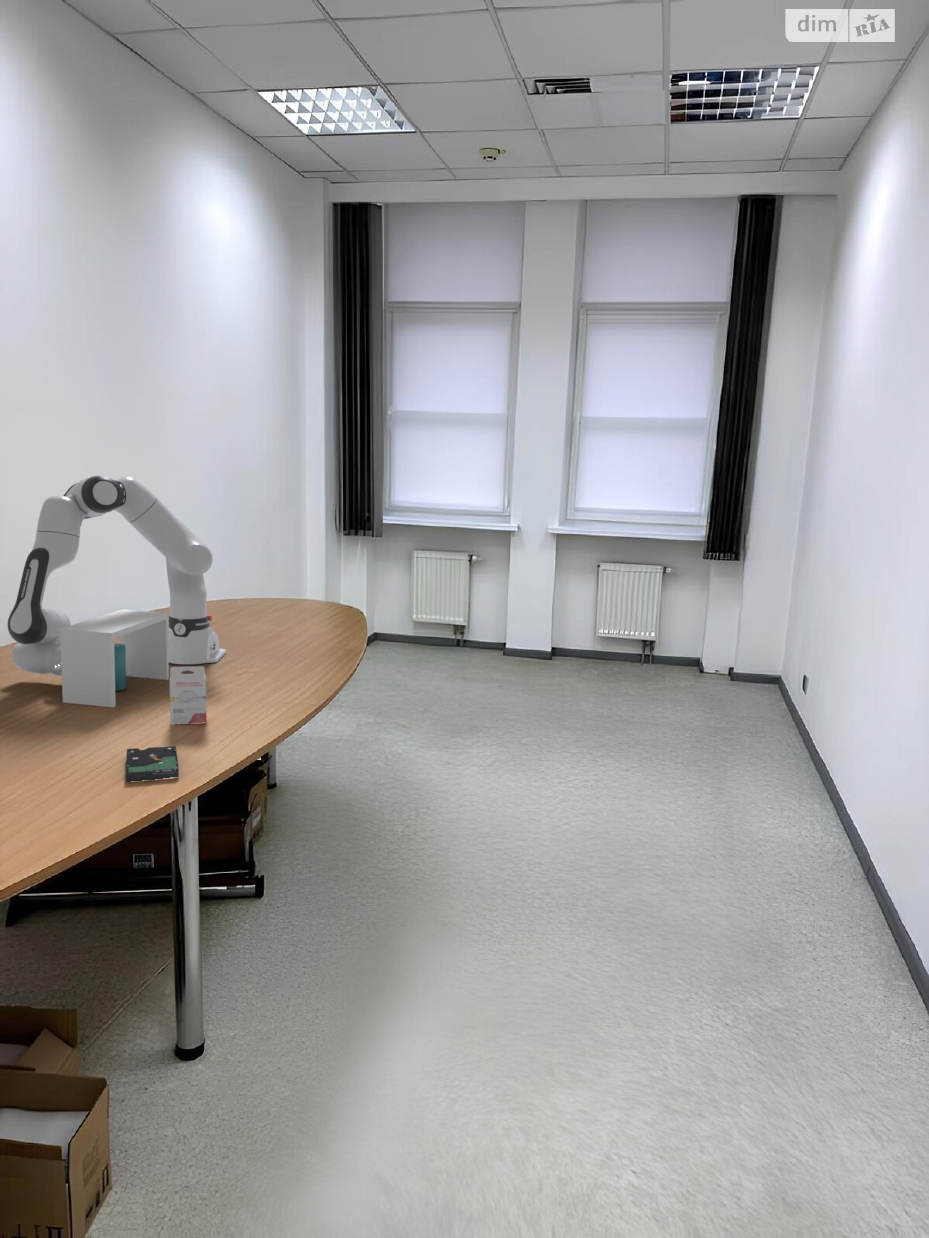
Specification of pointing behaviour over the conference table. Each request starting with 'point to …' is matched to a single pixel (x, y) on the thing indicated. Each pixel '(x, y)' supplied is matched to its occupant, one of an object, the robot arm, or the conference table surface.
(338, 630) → the conference table surface
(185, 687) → the ink cartridge box
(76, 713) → the conference table surface
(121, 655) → the teal cylinder
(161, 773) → the disk drive
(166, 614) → the arch
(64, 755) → the conference table surface
